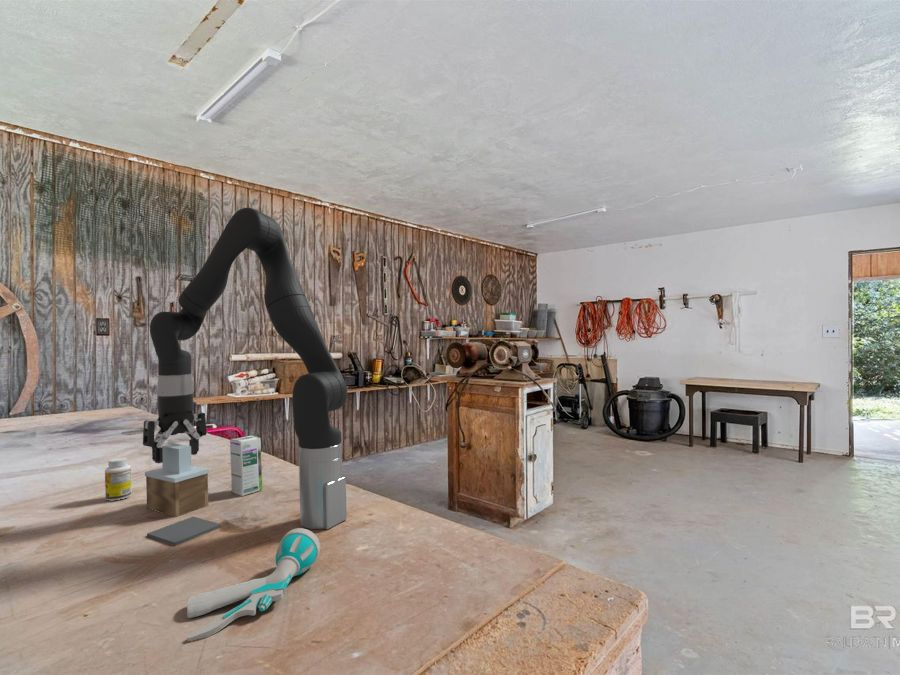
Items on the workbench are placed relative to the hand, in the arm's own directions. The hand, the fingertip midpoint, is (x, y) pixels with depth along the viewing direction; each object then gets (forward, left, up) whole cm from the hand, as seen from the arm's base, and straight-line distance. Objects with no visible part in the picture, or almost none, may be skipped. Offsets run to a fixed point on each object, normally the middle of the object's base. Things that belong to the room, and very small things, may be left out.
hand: (176, 458), depth 112 cm
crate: (0, 0, -12) cm, 12 cm away
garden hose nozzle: (-51, +17, -13) cm, 55 cm away
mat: (-16, +8, -12) cm, 22 cm away
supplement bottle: (+21, +3, -12) cm, 24 cm away
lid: (0, 0, -5) cm, 5 cm away
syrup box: (-6, -15, -12) cm, 20 cm away
